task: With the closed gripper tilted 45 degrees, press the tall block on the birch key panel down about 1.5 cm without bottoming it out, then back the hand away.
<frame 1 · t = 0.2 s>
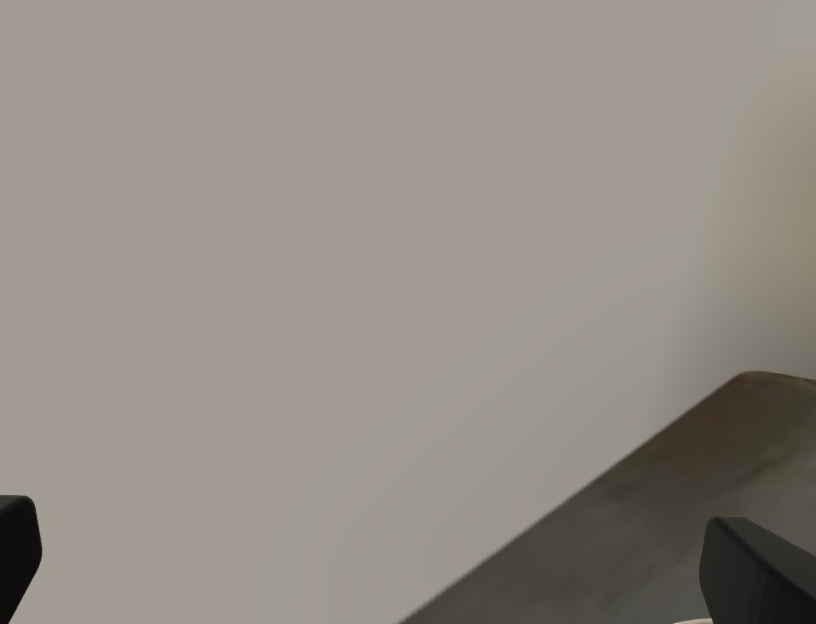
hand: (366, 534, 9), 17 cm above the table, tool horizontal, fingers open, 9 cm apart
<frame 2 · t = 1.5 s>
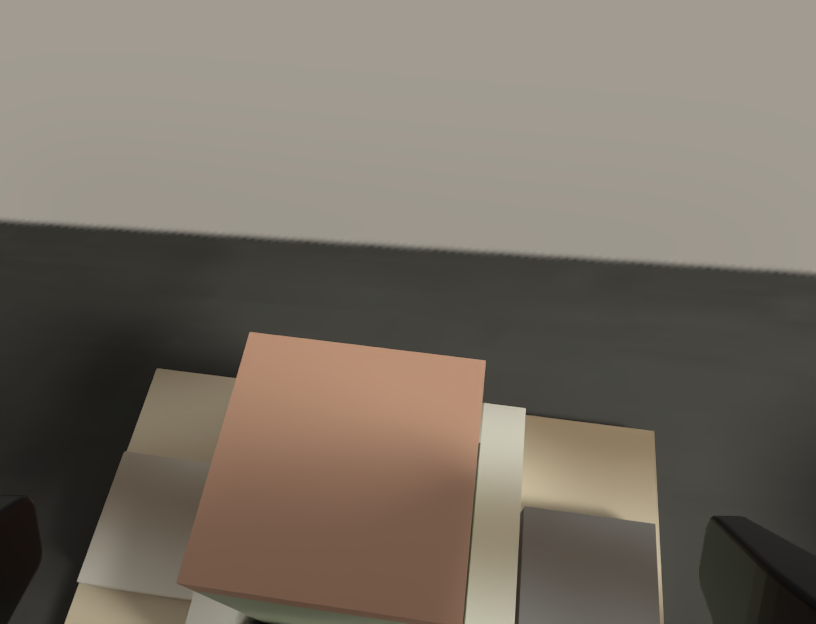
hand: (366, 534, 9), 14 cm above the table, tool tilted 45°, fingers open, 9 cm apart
key panel: (374, 563, 22), on the table
block: (358, 511, 15), point 7 cm above the table, slide at 0.0 cm
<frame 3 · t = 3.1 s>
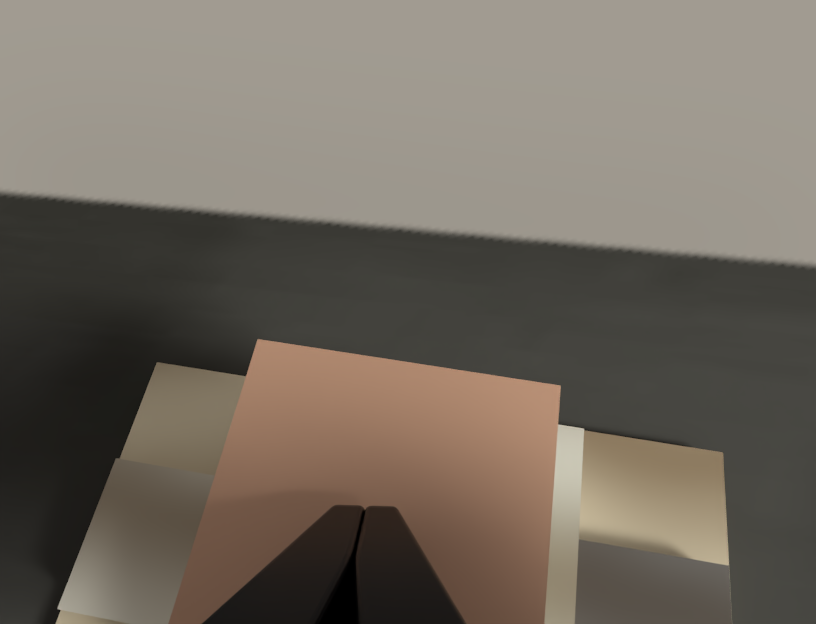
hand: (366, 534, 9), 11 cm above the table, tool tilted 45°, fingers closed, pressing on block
key panel: (397, 594, 19), on the table
block: (387, 557, 12), point 7 cm above the table, slide at 0.0 cm, touching gripper
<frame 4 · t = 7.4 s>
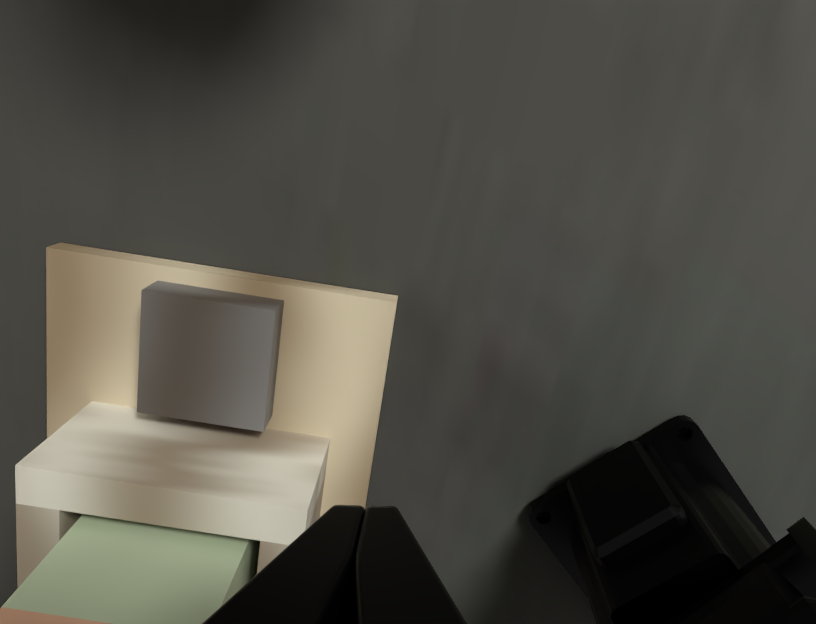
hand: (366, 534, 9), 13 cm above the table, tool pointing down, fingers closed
key panel: (210, 509, 24), on the table
block: (149, 619, 19), point 5 cm above the table, slide at 1.8 cm
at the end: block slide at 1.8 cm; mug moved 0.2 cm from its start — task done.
